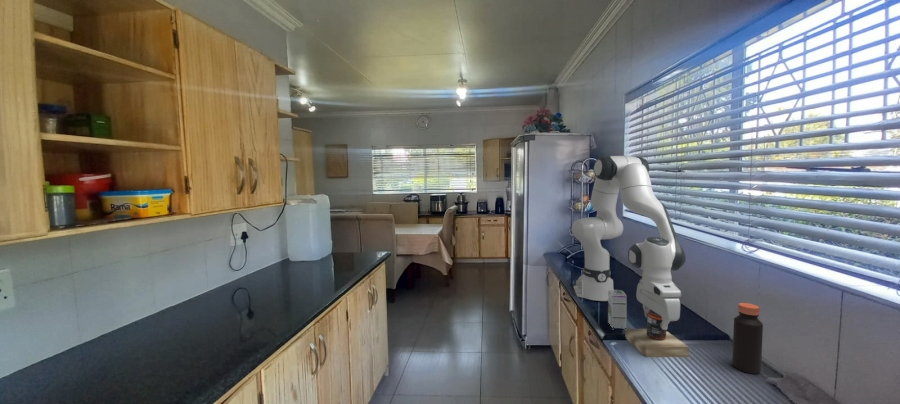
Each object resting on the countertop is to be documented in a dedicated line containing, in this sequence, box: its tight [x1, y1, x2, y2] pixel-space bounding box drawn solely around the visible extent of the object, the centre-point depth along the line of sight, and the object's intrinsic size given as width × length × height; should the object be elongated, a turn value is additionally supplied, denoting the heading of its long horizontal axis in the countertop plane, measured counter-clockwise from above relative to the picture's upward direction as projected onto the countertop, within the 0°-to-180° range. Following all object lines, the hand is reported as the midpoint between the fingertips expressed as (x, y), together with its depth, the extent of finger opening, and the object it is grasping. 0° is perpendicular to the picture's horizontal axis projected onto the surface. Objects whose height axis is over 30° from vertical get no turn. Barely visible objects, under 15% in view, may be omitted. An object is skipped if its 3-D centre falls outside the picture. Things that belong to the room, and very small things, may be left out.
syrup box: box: [607, 289, 628, 329], centre depth 136 cm, size 6×6×14 cm
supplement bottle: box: [646, 309, 667, 340], centre depth 120 cm, size 6×6×11 cm
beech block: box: [624, 328, 690, 358], centre depth 120 cm, size 14×14×4 cm
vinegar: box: [731, 302, 764, 375], centre depth 105 cm, size 7×7×20 cm
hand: (655, 322), depth 120 cm, fingers open, 8 cm apart
